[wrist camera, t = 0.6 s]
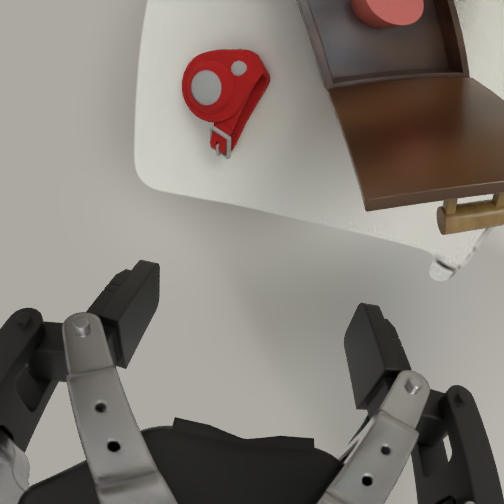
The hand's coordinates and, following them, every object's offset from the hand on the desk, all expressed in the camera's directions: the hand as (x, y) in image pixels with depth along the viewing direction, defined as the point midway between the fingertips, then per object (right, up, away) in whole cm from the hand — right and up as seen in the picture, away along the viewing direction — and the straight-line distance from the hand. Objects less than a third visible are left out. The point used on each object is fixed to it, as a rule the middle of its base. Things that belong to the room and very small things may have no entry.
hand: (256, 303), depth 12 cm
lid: (+13, +12, +5) cm, 18 cm away
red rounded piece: (-3, +19, +19) cm, 27 cm away
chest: (+12, +27, +9) cm, 31 cm away
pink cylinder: (+12, +26, +8) cm, 30 cm away
